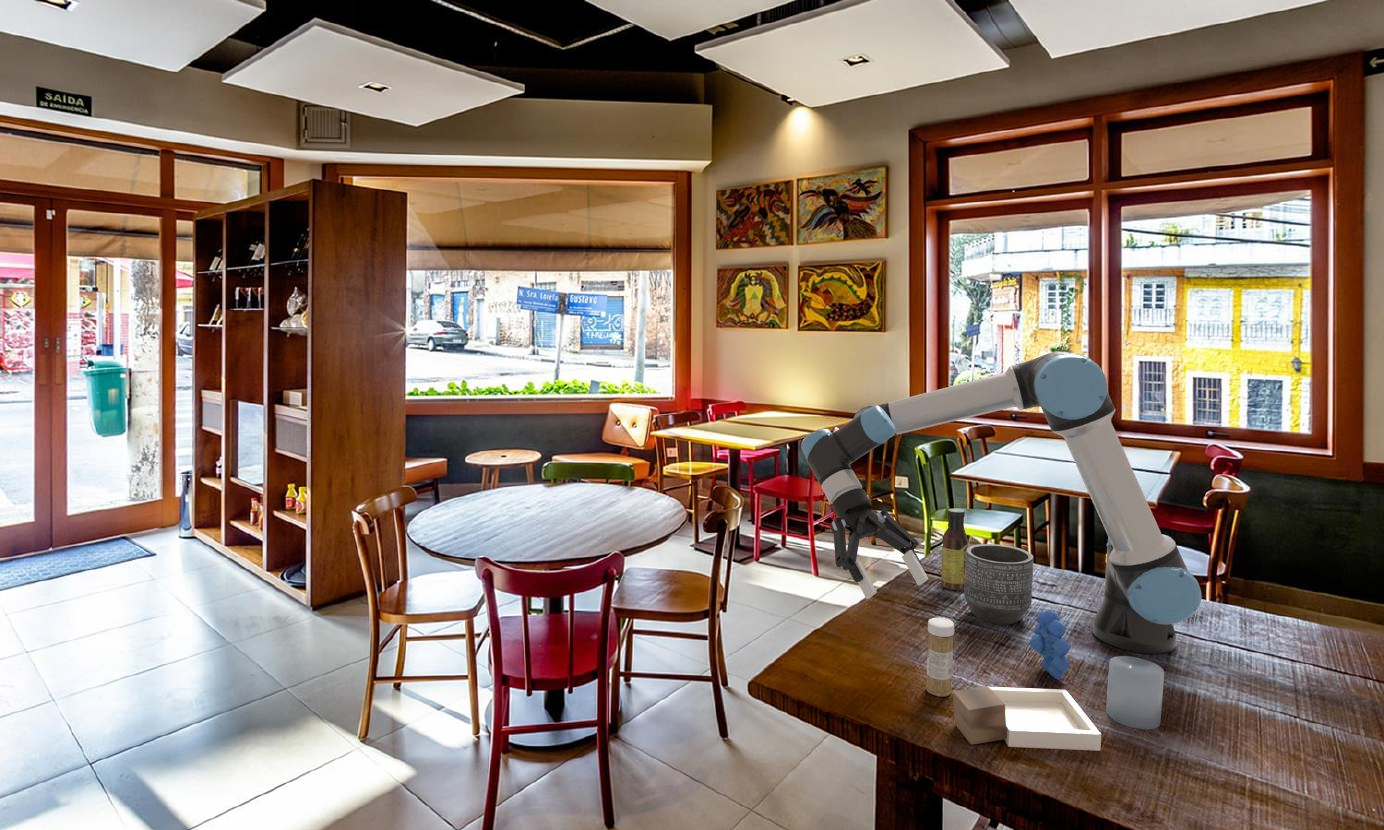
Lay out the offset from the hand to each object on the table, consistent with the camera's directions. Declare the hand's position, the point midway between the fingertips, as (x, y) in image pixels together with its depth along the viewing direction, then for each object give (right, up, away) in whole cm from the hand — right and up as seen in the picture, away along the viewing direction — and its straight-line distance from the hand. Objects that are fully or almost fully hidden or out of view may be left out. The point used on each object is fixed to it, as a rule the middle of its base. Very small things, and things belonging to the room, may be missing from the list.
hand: (898, 588), depth 142 cm
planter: (+30, -13, +27) cm, 42 cm away
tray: (+18, -19, -18) cm, 32 cm away
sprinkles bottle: (+6, -17, -7) cm, 19 cm away
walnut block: (+8, -19, -21) cm, 29 cm away
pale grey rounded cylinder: (+36, -18, -14) cm, 43 cm away
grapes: (+28, -16, 0) cm, 33 cm away
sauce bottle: (+27, -10, +45) cm, 53 cm away
